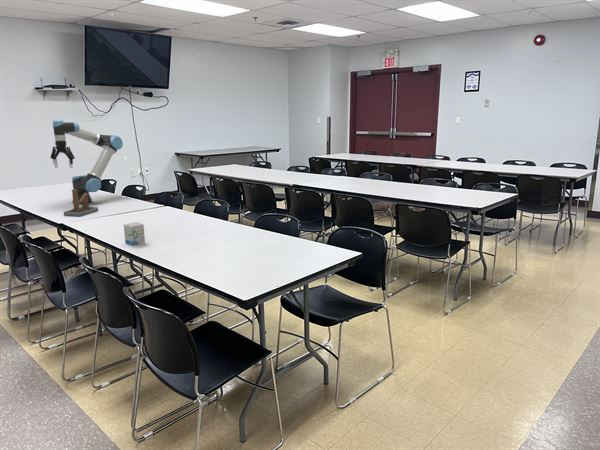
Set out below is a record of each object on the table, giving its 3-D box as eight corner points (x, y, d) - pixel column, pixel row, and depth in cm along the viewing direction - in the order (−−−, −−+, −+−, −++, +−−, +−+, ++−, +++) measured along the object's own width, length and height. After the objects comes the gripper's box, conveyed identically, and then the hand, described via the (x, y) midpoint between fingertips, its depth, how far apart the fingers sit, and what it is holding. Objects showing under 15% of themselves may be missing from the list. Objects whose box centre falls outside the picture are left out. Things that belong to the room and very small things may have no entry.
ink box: (132, 245, 268) (130, 226, 265) (124, 243, 273) (123, 224, 270) (145, 242, 274) (143, 223, 271) (138, 240, 279) (136, 221, 276)
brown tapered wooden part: (89, 211, 355) (86, 188, 351) (76, 213, 347) (73, 190, 342) (86, 210, 357) (84, 187, 353) (73, 212, 349) (70, 189, 344)
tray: (82, 210, 363) (82, 206, 363) (98, 210, 360) (98, 207, 360) (64, 215, 344) (63, 211, 343) (80, 216, 340) (79, 212, 340)
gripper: (43, 140, 355) (46, 167, 360) (70, 141, 350) (74, 168, 355) (50, 139, 362) (53, 166, 367) (77, 140, 357) (80, 167, 362)
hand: (63, 167), depth 361 cm, fingers open, 13 cm apart
